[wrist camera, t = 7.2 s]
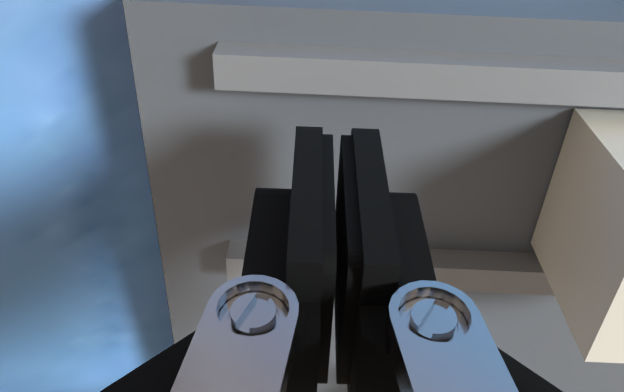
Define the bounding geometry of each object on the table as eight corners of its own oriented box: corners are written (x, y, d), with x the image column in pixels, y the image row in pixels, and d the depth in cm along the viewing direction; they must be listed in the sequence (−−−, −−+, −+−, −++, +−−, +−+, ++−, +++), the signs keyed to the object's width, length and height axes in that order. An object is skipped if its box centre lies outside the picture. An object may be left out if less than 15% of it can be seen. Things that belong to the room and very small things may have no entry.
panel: (147, -24, 14) (81, 38, 10) (853, 7, 14) (1040, 80, 10) (205, 452, 25) (184, 561, 22) (590, 470, 25) (634, 582, 22)
